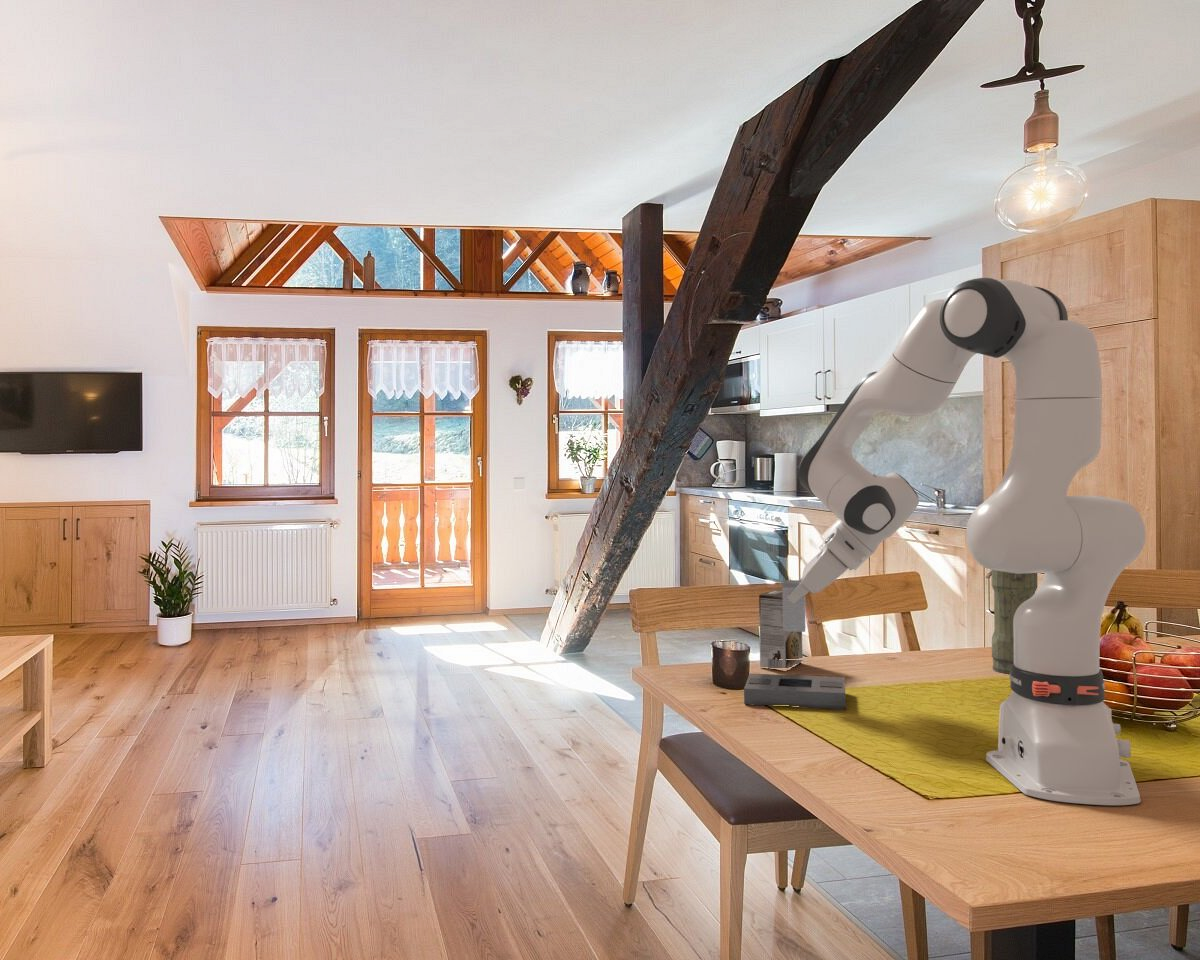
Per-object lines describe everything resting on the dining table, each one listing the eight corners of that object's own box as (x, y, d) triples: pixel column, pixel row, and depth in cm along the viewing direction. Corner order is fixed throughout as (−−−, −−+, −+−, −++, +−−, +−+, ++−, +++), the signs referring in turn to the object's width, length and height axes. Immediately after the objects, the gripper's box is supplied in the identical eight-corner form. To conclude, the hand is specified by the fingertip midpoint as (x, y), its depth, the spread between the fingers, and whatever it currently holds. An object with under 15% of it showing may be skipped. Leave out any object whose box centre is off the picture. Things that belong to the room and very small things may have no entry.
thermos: (1027, 664, 192) (1026, 502, 191) (1047, 677, 180) (1045, 505, 180) (984, 663, 193) (983, 502, 193) (1001, 676, 182) (999, 505, 181)
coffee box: (776, 660, 200) (775, 588, 199) (803, 663, 196) (802, 590, 196) (758, 668, 192) (757, 594, 192) (786, 672, 188) (785, 596, 188)
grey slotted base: (845, 709, 159) (845, 692, 159) (744, 704, 163) (743, 687, 163) (844, 693, 170) (844, 676, 170) (749, 688, 175) (749, 672, 175)
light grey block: (805, 631, 164) (804, 583, 164) (782, 631, 165) (782, 583, 165) (805, 627, 168) (805, 580, 168) (783, 627, 169) (783, 580, 169)
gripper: (831, 530, 175) (781, 579, 177) (831, 539, 155) (775, 594, 158) (855, 553, 174) (804, 601, 176) (858, 565, 154) (801, 619, 157)
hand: (790, 598), depth 167 cm, fingers closed on light grey block, 4 cm apart
